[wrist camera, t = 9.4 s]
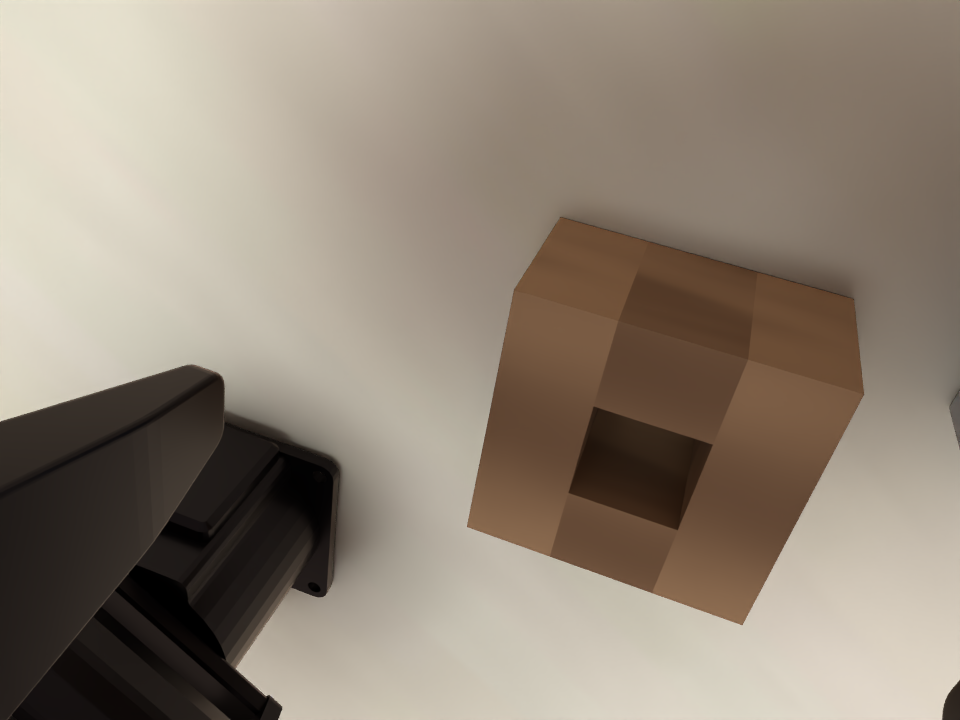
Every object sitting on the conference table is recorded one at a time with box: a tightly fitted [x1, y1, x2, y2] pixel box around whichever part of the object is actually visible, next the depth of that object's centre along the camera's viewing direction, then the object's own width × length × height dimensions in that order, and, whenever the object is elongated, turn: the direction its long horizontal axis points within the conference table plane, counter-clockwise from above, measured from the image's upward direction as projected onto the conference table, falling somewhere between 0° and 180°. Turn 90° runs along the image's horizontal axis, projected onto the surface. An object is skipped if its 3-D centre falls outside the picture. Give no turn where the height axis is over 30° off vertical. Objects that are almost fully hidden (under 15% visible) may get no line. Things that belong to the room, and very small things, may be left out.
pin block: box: [467, 217, 864, 625], centre depth 20 cm, size 7×7×4 cm
